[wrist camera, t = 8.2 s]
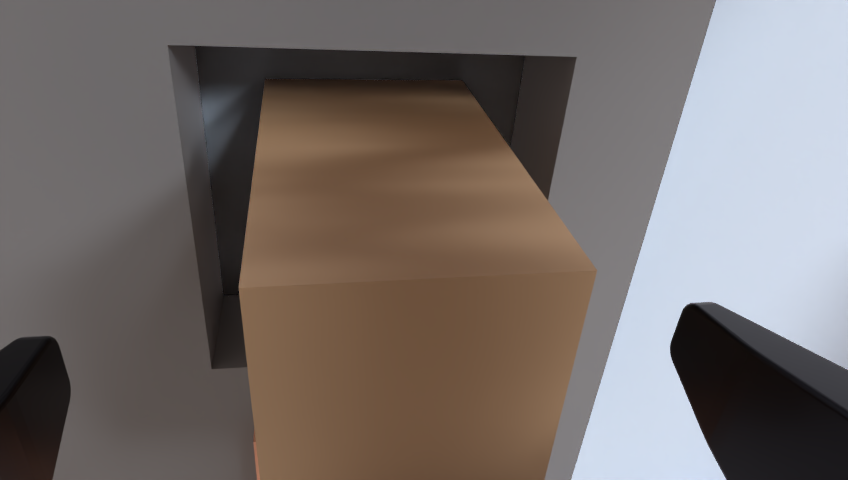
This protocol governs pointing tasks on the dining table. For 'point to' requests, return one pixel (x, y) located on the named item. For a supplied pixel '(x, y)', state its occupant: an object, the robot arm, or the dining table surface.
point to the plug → (402, 289)
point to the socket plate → (193, 205)
